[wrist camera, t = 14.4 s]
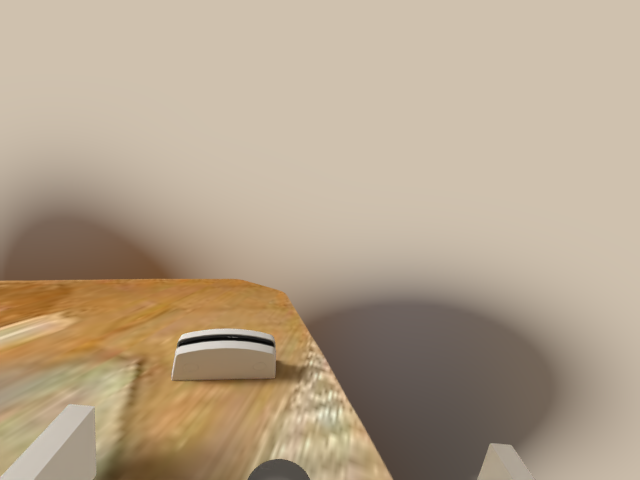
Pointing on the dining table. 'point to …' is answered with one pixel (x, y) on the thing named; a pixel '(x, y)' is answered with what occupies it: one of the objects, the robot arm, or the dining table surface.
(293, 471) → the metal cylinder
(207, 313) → the dining table surface
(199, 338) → the hinge
